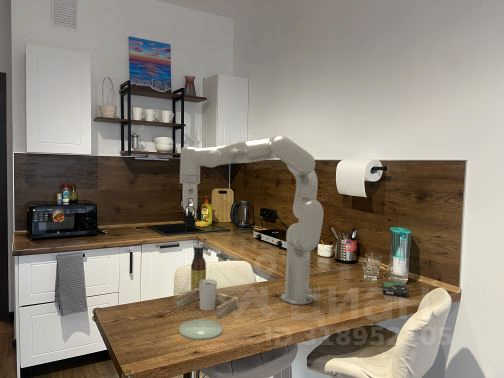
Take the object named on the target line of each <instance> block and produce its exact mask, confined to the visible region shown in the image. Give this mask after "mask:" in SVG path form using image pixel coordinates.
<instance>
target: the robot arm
mask: <svg viewBox="0 0 504 378" xmlns="http://www.w3.org/2000/svg"><path fill="white" fill-rule="evenodd" d="M274 159H279V160H280V161H281V162H283V163H284V164H286V168H287V169H288V171H290V172H291V173H292V174H293V176H294V177H295V183H296V186H295V193H294V194H295V195H294V200H293V206H292V214H293V215H294V216H295V218H296V219H298V222H295V223H292V224H291V225H290V226H289V227H288V229H287V231H286V233H285V235H286V236H285V237H286V238H285V239H286V240H285V241H286V265H285V266H286V269H285V291H284V293H282V294H281V298H280V299H281V300H282V301H283V302H285V303H287V304H291V305H300V306H301V305H308V304H310V303H312V301H313V300H314V301H318V299H319V295H318V294H317V293H314V292H312V289H311V288H310V287H309V286H310V271H311V270H310V269H311V251H313V250H315V249H316V248H317V246H318V245H319V243H320V239H321V234H322V228H323V223H324V222H323V220H324V215H325V213H324V208H323V206H322V204H321V202H320V201H318V200H317V194H318V186H319V185H318V184H319V183H318V182H319V181H318V176H317V174H316V171H315V168H316V159H315V158H314V156H313V155H312V154H311V153H310V152H308V151H307V150H306V149H304V148H302V147H301V146H300V145H298V144H297V143H296V142H294V141H292V140H291V139H290V138H288V137H286V136H284V135H277V136H270V137H265V138H263V137H262V138H257V139H249V140H243V141H239V142H236V143H231V144H228V145H227V144H226V145H221V146H219V145H218V146H214V147H211V146H210V147H195V146H184V147H182V148H181V149H180V161H179V162H180V164H179V184H182V207H183V212H182V213H183V217H182V218H183V220H182V221H183V223H184V224H185V225H184V226H185V227H189V228H190V227H191V228H192V227H194V226H195V211H197V210H198V185H199V184H200V183H201V180H200V179H201V167H207V168H215V167H217V166H221V165H222V166H223V165H231V164H245V163H247V164H248V163H255V162H261V161H266V160H274Z"/></svg>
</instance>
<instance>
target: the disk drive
mask: <svg viewBox="0 0 504 378" xmlns="http://www.w3.org/2000/svg"><path fill="white" fill-rule="evenodd" d="M408 294H409V292H408V288H407V284H406V283H401V282H393V281H385V280H384V281H382V296H389V297H390V296H391V297H397V298H402V299H403V298H405V299H407V298H408Z"/></svg>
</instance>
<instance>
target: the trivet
mask: <svg viewBox="0 0 504 378" xmlns="http://www.w3.org/2000/svg"><path fill="white" fill-rule="evenodd" d="M223 329H224V328H223V325H221V323H219V322H218V321H214V320H210V319H194V320H189V321H186V322H184V323H182V324H181V325H180V326H179V334H180V335H181V336H182V337H184V338H187V339H190V340H196V341H197V340H199V341H205V340H211V339H215V338H217V337H219V336H220V335H221V334H222V333H223Z"/></svg>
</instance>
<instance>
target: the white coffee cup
mask: <svg viewBox="0 0 504 378" xmlns="http://www.w3.org/2000/svg"><path fill="white" fill-rule="evenodd" d="M217 285H218V281H217V280H215V279H210V278H209V279H208V278H206V279H204V280H201V281H199V298H200V300H199V309H200V310H202V311H213V310H214V308H215V309H216V304H215V301H216V293H217V287H218V286H217Z"/></svg>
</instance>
